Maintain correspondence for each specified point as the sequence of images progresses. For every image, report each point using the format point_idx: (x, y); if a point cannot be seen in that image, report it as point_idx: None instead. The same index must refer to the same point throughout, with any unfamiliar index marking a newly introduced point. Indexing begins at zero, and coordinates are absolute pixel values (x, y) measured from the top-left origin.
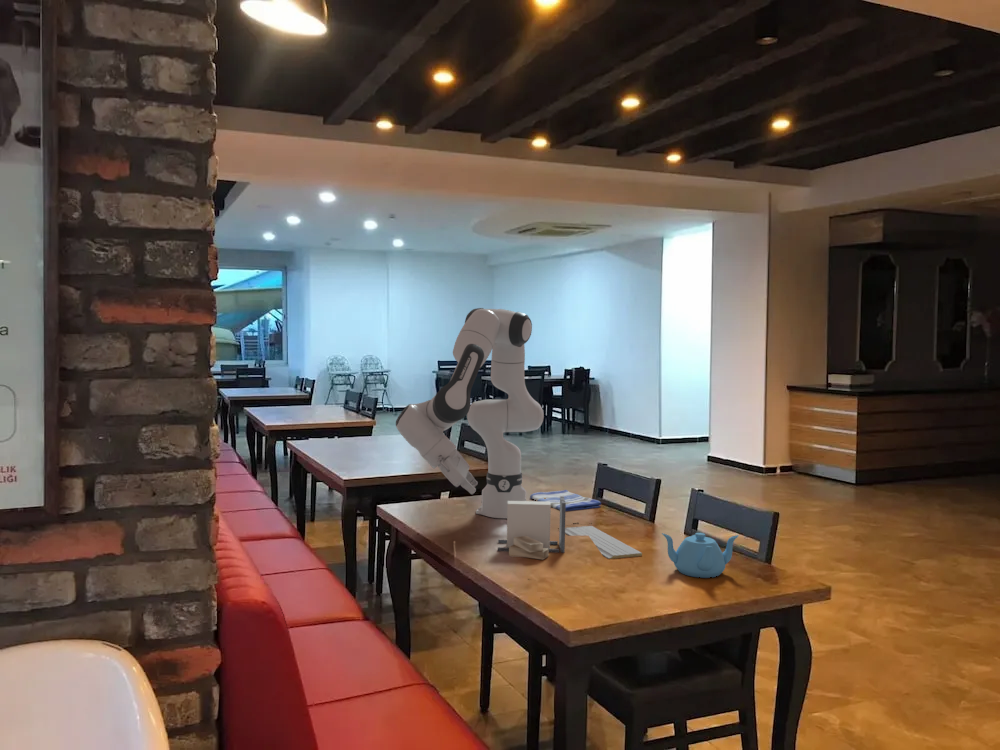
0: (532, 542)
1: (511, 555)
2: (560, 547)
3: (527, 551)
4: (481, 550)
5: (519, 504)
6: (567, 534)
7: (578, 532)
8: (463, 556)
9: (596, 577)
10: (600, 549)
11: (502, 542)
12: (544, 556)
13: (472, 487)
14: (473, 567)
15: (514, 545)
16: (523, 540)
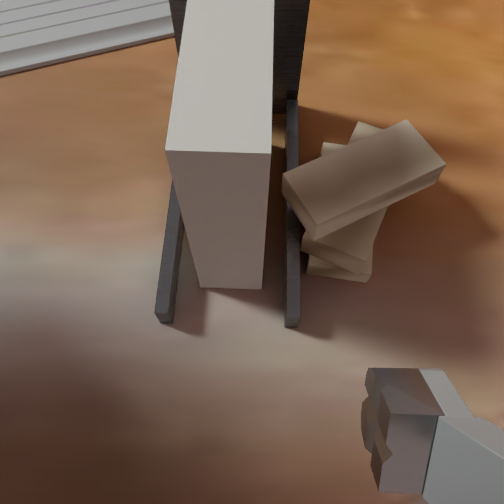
0: (401, 154)
1: (369, 264)
2: None
3: None
4: (221, 402)
5: (271, 90)
6: (10, 72)
7: (20, 37)
8: (331, 497)
9: (492, 49)
10: None
11: (172, 296)
12: None
13: (464, 410)
14: None
15: (331, 238)
16: (373, 186)
